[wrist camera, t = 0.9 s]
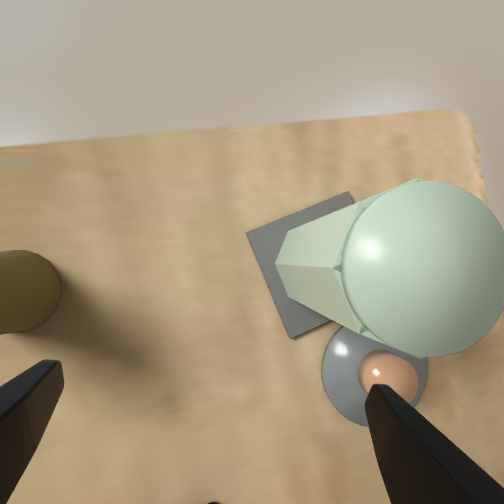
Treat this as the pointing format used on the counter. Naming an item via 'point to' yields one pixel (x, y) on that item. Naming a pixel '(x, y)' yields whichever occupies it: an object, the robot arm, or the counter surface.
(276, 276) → the mat
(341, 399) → the plate
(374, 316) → the mint green canister
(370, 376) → the peach dome
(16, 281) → the cork
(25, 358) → the counter surface
